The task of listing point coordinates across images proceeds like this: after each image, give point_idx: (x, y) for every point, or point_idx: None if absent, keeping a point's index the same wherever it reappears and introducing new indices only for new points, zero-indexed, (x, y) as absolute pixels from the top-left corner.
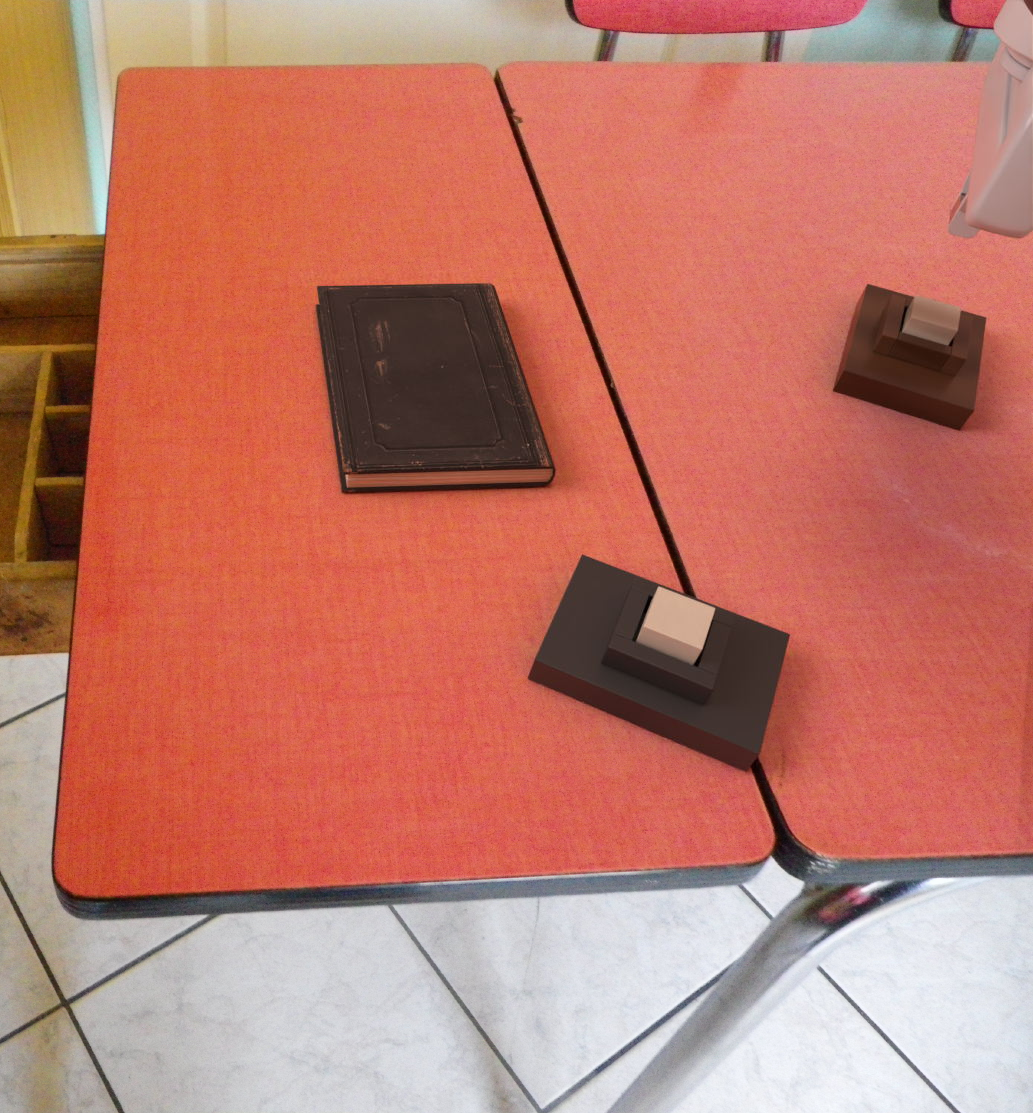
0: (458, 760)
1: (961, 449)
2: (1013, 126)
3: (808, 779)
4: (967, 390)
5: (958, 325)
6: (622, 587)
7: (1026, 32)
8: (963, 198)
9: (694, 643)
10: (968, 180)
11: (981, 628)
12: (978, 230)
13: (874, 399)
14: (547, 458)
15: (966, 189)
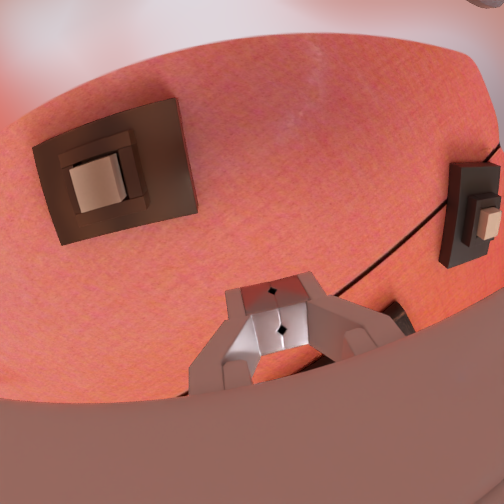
0: (498, 248)
1: (203, 90)
2: None
3: (485, 138)
4: (148, 112)
5: (99, 159)
6: (458, 245)
7: None
8: (277, 347)
9: (500, 215)
10: (251, 376)
11: (387, 57)
12: (315, 278)
13: (191, 173)
14: (400, 314)
15: (256, 359)
